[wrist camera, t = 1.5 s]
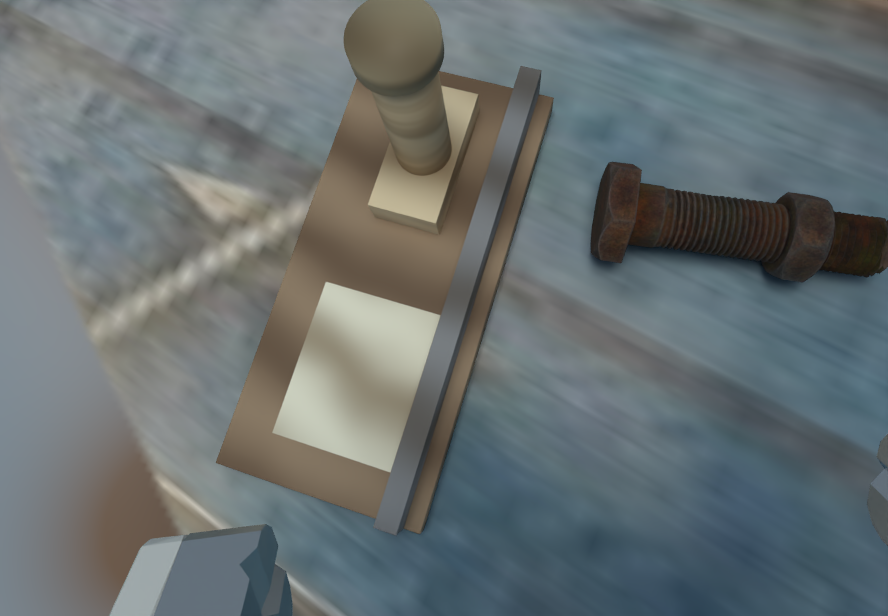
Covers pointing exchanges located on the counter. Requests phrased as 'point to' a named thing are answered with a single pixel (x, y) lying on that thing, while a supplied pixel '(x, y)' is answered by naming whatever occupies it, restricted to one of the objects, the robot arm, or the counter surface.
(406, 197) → the stamp
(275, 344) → the board
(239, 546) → the robot arm
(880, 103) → the counter surface
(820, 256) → the bolt
